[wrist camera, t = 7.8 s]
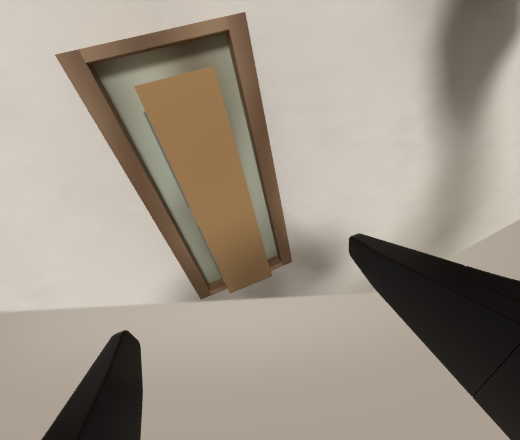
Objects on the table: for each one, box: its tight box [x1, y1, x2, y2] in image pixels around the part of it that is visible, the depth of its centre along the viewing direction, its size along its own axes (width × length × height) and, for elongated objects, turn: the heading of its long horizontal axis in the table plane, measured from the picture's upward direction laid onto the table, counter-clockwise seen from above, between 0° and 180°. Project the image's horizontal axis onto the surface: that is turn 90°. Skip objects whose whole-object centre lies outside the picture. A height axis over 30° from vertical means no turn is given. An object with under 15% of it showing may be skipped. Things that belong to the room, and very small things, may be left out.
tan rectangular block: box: [134, 66, 272, 293], centre depth 15 cm, size 4×14×4 cm, turn 14°
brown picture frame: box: [55, 12, 292, 299], centre depth 17 cm, size 9×18×3 cm, turn 14°
